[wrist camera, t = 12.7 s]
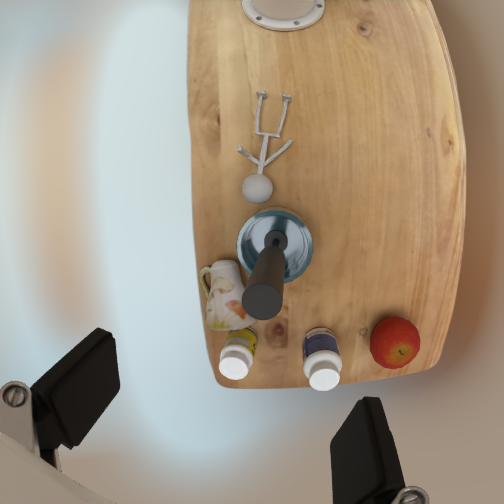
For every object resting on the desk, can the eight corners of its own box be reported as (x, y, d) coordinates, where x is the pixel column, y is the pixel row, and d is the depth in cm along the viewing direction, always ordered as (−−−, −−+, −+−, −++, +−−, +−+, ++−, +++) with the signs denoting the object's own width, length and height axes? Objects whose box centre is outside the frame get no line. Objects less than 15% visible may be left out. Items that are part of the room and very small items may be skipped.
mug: (247, 246, 39) (259, 301, 31) (250, 292, 45) (260, 343, 38) (194, 252, 38) (194, 309, 31) (205, 297, 44) (208, 350, 37)
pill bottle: (297, 333, 41) (297, 373, 32) (329, 321, 40) (338, 358, 30) (309, 358, 42) (311, 399, 33) (340, 347, 41) (349, 386, 31)
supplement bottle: (252, 353, 43) (244, 386, 35) (225, 343, 43) (212, 375, 35) (262, 330, 42) (255, 362, 34) (233, 320, 42) (220, 350, 34)
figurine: (301, 87, 28) (281, 208, 31) (299, 104, 34) (281, 208, 37) (249, 80, 28) (227, 199, 31) (255, 98, 34) (236, 200, 37)
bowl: (274, 191, 36) (271, 193, 31) (324, 239, 37) (329, 247, 32) (229, 240, 39) (221, 249, 34) (278, 284, 39) (276, 298, 35)
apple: (375, 303, 38) (391, 328, 31) (415, 312, 38) (435, 336, 30) (357, 345, 40) (367, 375, 33) (397, 351, 40) (411, 379, 32)
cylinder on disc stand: (275, 224, 37) (260, 270, 18) (292, 241, 37) (295, 302, 18) (259, 241, 38) (228, 302, 19) (276, 257, 38) (262, 331, 19)
